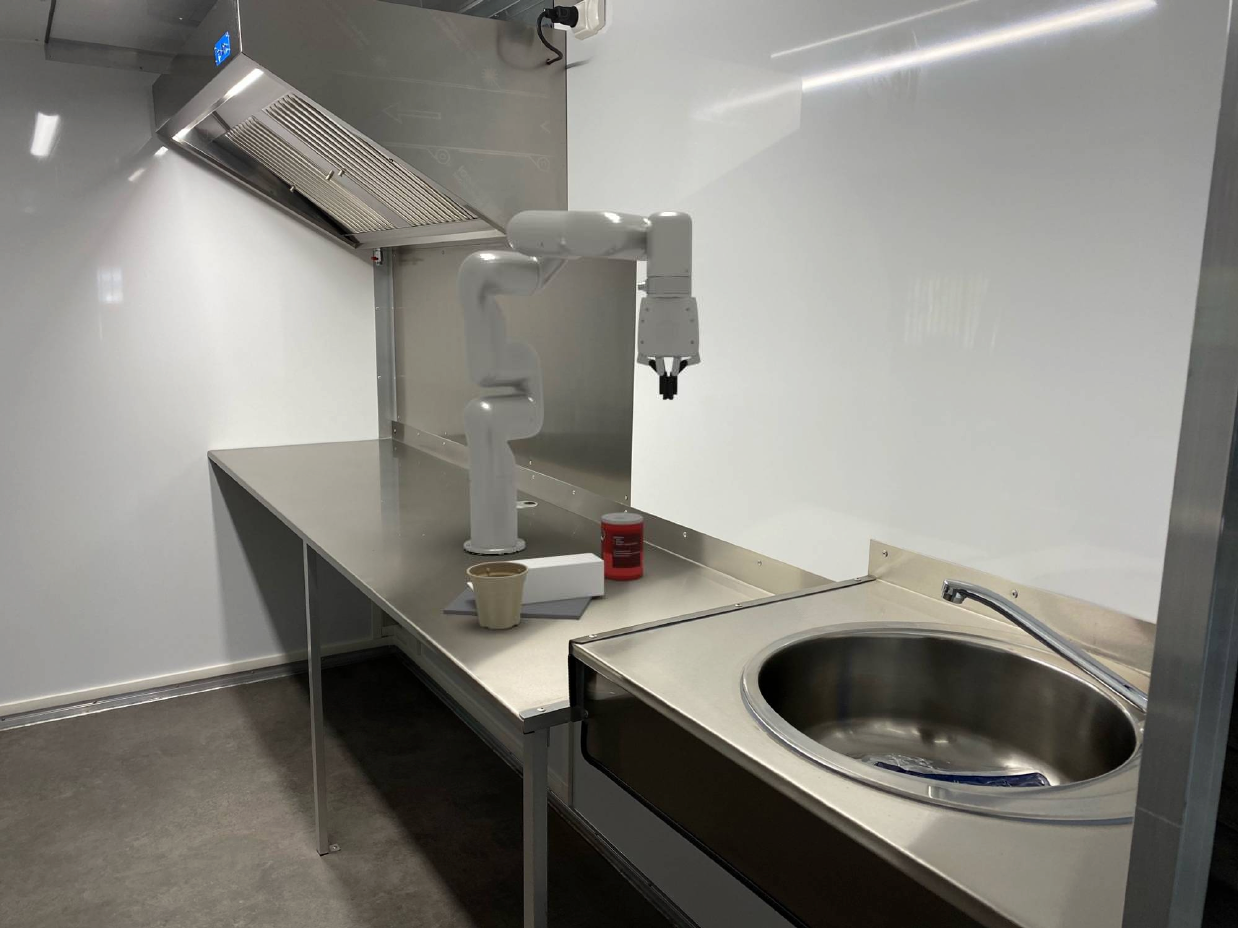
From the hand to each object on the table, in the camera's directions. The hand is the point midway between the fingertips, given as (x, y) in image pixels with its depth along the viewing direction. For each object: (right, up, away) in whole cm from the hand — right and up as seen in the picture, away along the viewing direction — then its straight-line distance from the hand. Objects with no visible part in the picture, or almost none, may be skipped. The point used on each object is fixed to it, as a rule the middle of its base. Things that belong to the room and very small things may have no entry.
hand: (668, 399), depth 156 cm
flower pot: (-27, -36, -14) cm, 47 cm away
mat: (-24, -34, -1) cm, 41 cm away
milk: (-12, -30, +1) cm, 32 cm away
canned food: (-8, -32, +14) cm, 35 cm away
